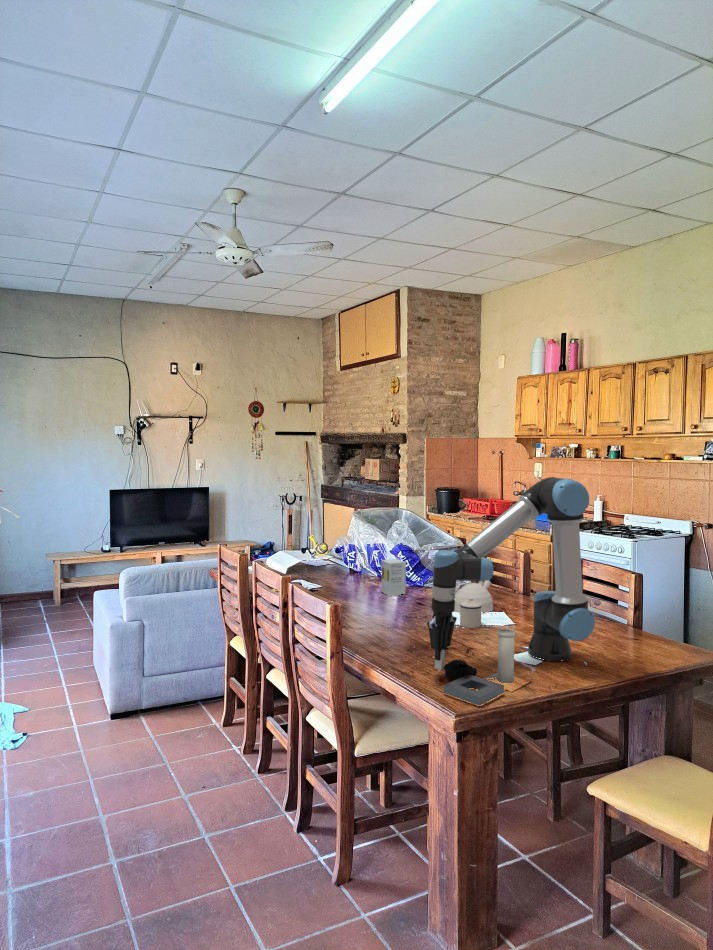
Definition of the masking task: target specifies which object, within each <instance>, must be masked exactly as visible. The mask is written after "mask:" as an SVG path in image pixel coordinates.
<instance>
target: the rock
mask: <svg viewBox="0 0 713 950" xmlns="http://www.w3.org/2000/svg"><path fill="white" fill-rule="evenodd" d="M443 671H445V676H446V677H445V678H446V679H447V680H449V681H454V680H457V679H459V678H461V677H464V676H466V675H468V674H469V675H473V676H477V673H478V669H477V668H476V667H474V666H472V665H470V664H468V663H467V662H466V661H464V660H462V659H453V660H451V661H450V662H448V663H446V664H444V670H443Z"/></svg>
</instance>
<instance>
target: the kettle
mask: <svg viewBox="0 0 713 950" xmlns="http://www.w3.org/2000/svg"><path fill="white" fill-rule="evenodd" d="M491 586H492V582H491V581H490V580H488V581H477V582H473V581H468V582H465V583H462V584H461V583H460V585H458V586H456V590H455V599H454V600H455V610H454V611H453V612H456V613H457V612H458V613H460V603H461V602H464V601H466V600H468V598H470V597H471V598H473V600H475V601H476V602H479V603H481V605H482V607H481V612H488V613H490V611H491V612H492V611H493V610H494V600H493V596H492V595H491V593H490V592H489V590H488V589H490V588H489V587H491Z"/></svg>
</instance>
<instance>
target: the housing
mask: <svg viewBox="0 0 713 950" xmlns="http://www.w3.org/2000/svg"><path fill="white" fill-rule="evenodd" d="M469 688H474V689H478V691H475V690H472V689H469ZM443 693H446V694H449V695H452V696H454V697H457V698H460V699H462V700H465V701H468V702H471V703H474V704H477V705H481V704H483V703H485V702H487V701H489V700H491V699H493V698H495V697H497V696H498V695H500V694H502V693H504V694H505V690H504V685H501V684H498V683H495V682H492V681H488V680H485V679H484V678H481V677H478V676H477V675H475V676H473V675H469V674H468V675H466V676H464V677H461V678H459V679H457V680H451V681H450V682H447V683H446V684H443Z"/></svg>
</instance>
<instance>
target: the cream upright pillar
mask: <svg viewBox="0 0 713 950" xmlns="http://www.w3.org/2000/svg"><path fill="white" fill-rule="evenodd" d="M496 633H497V634H496V635H497V637H498V639H497V640H498V641H497V642H498V643H497V647H498V648H497V672H498V681H499V682H501V683H512V682H513V681H514V676H515V638H516V636H517V631H515V630H514V629H510V628H500V629H498V630H497V631H496Z"/></svg>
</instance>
